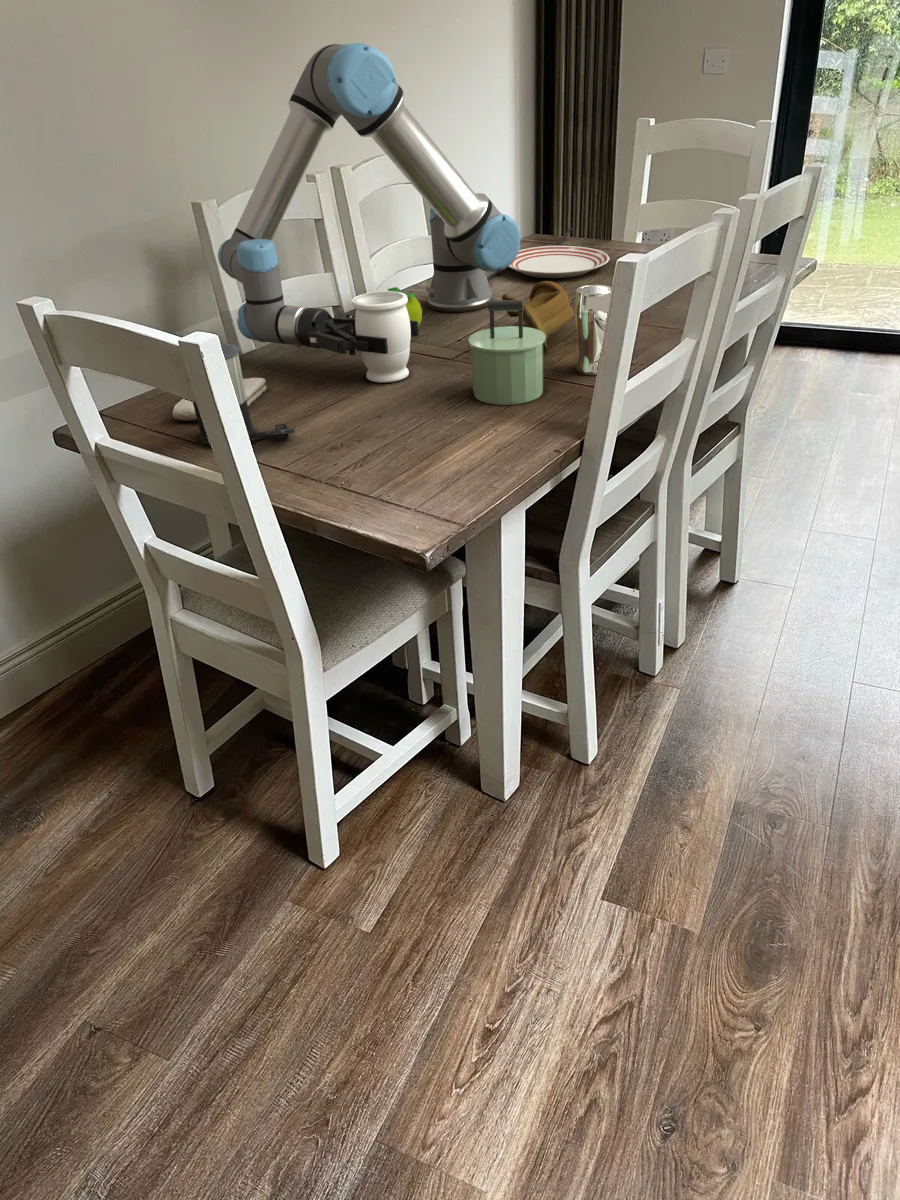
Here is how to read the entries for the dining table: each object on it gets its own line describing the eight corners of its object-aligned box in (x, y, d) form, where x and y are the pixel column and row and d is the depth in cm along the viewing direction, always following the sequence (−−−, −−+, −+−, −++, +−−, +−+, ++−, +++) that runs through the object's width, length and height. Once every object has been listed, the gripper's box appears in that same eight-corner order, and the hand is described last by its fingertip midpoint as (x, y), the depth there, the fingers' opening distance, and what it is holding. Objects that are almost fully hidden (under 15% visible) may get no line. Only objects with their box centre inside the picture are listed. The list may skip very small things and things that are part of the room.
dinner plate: (629, 264, 242) (630, 251, 240) (565, 288, 226) (565, 274, 224) (547, 253, 259) (547, 241, 257) (482, 275, 243) (481, 262, 241)
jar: (354, 373, 182) (344, 295, 174) (402, 363, 185) (396, 287, 177) (371, 389, 174) (362, 308, 166) (422, 379, 177) (416, 299, 169)
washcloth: (269, 388, 178) (267, 373, 176) (235, 424, 163) (232, 407, 161) (211, 388, 180) (208, 373, 178) (173, 424, 165) (169, 407, 163)
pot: (478, 380, 174) (476, 330, 169) (545, 380, 172) (545, 329, 167) (469, 404, 164) (466, 352, 159) (540, 404, 162) (539, 351, 157)
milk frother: (201, 430, 162) (182, 346, 154) (291, 417, 164) (277, 334, 156) (201, 462, 150) (181, 373, 142) (298, 448, 152) (284, 359, 144)
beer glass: (589, 361, 179) (591, 282, 171) (618, 368, 175) (622, 287, 167) (566, 371, 176) (567, 290, 167) (596, 378, 171) (598, 296, 163)
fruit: (408, 327, 206) (404, 281, 201) (430, 336, 200) (427, 289, 194) (372, 336, 202) (367, 290, 197) (394, 346, 196) (389, 298, 190)
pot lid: (474, 332, 170) (472, 291, 166) (548, 331, 168) (548, 289, 164) (463, 356, 159) (460, 312, 155) (542, 355, 157) (542, 311, 153)
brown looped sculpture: (459, 312, 188) (523, 269, 199) (483, 371, 193) (544, 326, 205) (525, 295, 174) (590, 251, 185) (549, 359, 179) (610, 312, 191)
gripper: (342, 329, 193) (434, 339, 184) (274, 363, 177) (370, 376, 167) (337, 292, 189) (431, 300, 180) (267, 324, 173) (366, 335, 163)
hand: (402, 337), depth 173 cm, fingers closed on jar, 10 cm apart
